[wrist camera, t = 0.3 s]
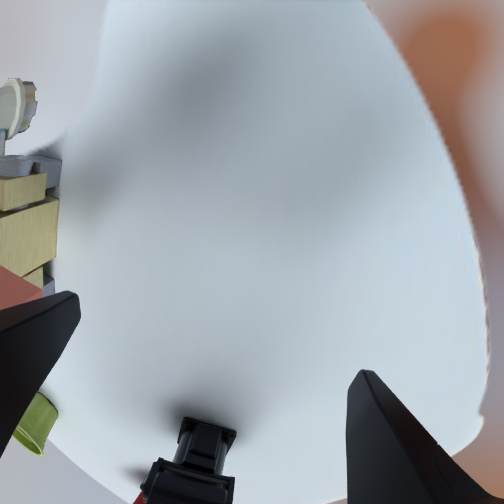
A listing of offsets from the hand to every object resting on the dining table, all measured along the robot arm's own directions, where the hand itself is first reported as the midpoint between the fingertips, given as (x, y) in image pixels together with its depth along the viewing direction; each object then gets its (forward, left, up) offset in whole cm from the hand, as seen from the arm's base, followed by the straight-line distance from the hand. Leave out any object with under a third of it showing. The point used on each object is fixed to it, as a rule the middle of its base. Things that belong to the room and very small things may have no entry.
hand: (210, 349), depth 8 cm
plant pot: (-39, +25, -15) cm, 49 cm away
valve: (-6, +21, -15) cm, 26 cm away
